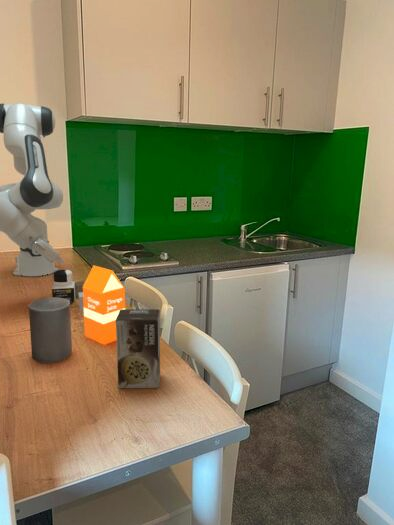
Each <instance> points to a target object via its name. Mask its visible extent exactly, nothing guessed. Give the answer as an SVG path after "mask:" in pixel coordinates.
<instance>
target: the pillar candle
mask: <svg viewBox="0 0 394 525" xmlns="http://www.w3.org/2000/svg"><path fill="white" fill-rule="evenodd" d="M28 317H29V330H30V332H29V334H30V346H31V347H30V348H31V349H30V350H31V358H32V359H33V360H34V361H35V362H37V363H43V364H51V363H53V364H54V363H57V362H61V361H63V360H66V359H68V358H69V357H70V355H71V354H72V352H73V346H72V345H73V344H72V323H71V322H72V321H71V320H72V319H71V307H70V301H69V300H67V299H64V298H58V297H50V296H49V297H43V298H38V299H35V300H34V301H31V302H30V303H29V304H28Z"/></svg>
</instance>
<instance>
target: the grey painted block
mask: <svg viewBox="0 0 394 525" xmlns="http://www.w3.org/2000/svg"><path fill="white" fill-rule="evenodd" d="M78 297H79V299H78V310H79V312H84V302H83V292H79V293H78Z"/></svg>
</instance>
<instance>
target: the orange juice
mask: <svg viewBox="0 0 394 525" xmlns="http://www.w3.org/2000/svg"><path fill="white" fill-rule="evenodd" d="M84 281H85V283H84V285H83V287H82V288H83V302H84V311H83V319H84V320H83V321H84V337H86V338H89V339H91V340H93V341H95V342H97V343H99V344H101V345H104V346H105V345H108V344H110V343H113V342H115V341H117V339H116V318H117V316H118V314H119V312H120V310H126V293H125V292H126V290H125V287H124V285H123V284H122V283H121V281H120V279H119V277H118V276H117V275H116V274H115V272H114V270H112V269H108V268H105V267H101V266H98V265H92V268H91V269H90V272H89V273H88V276H87V278H86V280H84Z"/></svg>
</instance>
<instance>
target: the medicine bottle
mask: <svg viewBox="0 0 394 525" xmlns="http://www.w3.org/2000/svg"><path fill="white" fill-rule="evenodd" d="M52 274H53V275H52V276H53V283H52V287H51V296H52V297H58V298H64V299H67V300H69V301H70V308H74V307H75V306H76V298H75V282H76V281H73V271H71V270H70V269H59V270H57V271H55V272H53V273H52Z"/></svg>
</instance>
